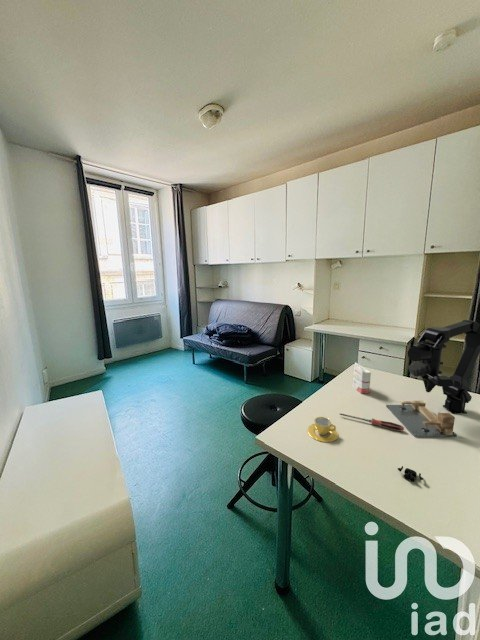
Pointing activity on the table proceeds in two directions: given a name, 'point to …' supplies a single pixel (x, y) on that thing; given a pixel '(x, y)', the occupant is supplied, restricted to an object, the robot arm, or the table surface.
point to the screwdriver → (380, 423)
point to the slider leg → (441, 421)
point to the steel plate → (415, 421)
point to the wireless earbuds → (410, 474)
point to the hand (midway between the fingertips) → (427, 392)
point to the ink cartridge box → (361, 379)
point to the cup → (323, 430)
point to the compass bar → (426, 413)
